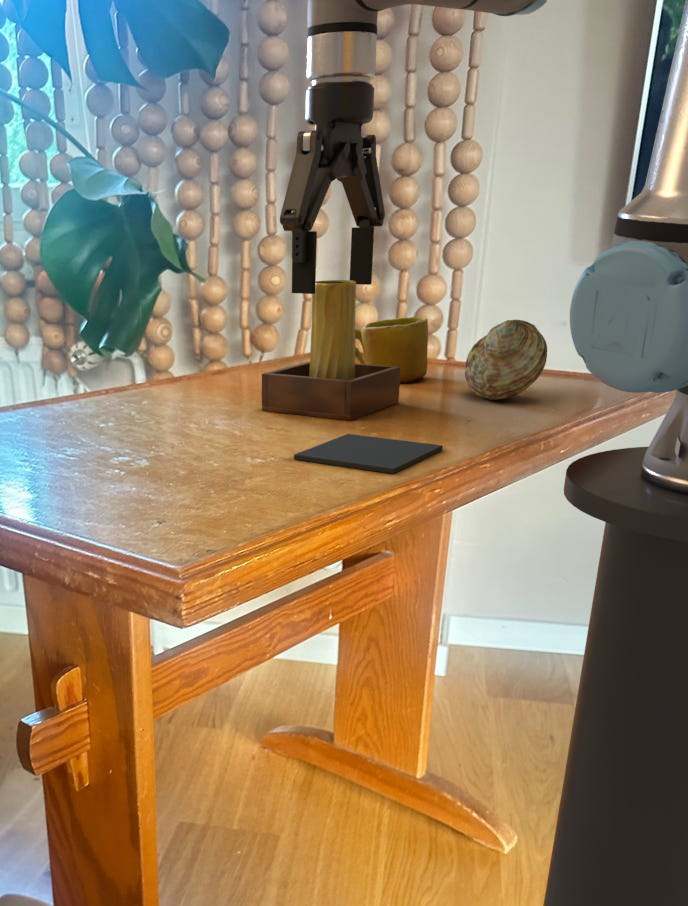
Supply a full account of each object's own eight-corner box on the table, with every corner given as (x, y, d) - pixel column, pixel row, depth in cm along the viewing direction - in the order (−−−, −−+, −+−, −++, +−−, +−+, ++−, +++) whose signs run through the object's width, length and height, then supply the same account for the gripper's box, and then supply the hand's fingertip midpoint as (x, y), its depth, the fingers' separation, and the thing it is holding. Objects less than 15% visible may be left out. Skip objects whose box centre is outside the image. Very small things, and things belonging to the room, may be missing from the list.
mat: (442, 450, 94) (442, 445, 94) (393, 474, 86) (393, 468, 86) (347, 438, 100) (347, 433, 100) (293, 459, 92) (293, 454, 92)
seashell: (554, 393, 120) (565, 312, 116) (529, 408, 112) (540, 322, 108) (475, 387, 126) (482, 310, 122) (445, 401, 117) (452, 318, 113)
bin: (398, 403, 117) (400, 366, 115) (350, 420, 108) (351, 381, 106) (313, 394, 124) (314, 360, 122) (261, 410, 115) (261, 373, 113)
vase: (299, 400, 118) (301, 281, 112) (343, 396, 119) (347, 279, 113) (317, 408, 113) (319, 284, 107) (363, 405, 114) (368, 282, 108)
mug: (448, 361, 134) (432, 295, 129) (422, 394, 128) (405, 326, 123) (374, 372, 142) (356, 310, 137) (346, 404, 136) (326, 340, 131)
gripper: (363, 94, 112) (355, 280, 121) (247, 77, 94) (248, 296, 104) (420, 88, 108) (407, 281, 117) (310, 69, 90) (305, 298, 99)
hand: (333, 288), depth 110 cm, fingers open, 13 cm apart
